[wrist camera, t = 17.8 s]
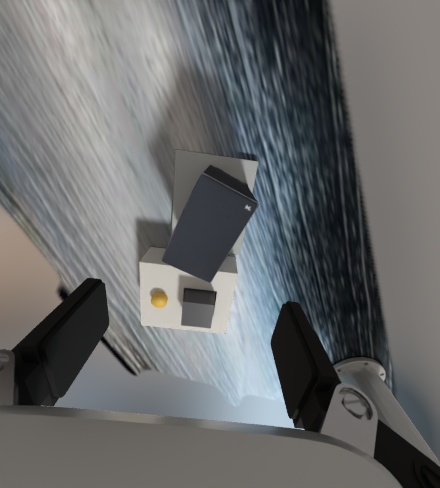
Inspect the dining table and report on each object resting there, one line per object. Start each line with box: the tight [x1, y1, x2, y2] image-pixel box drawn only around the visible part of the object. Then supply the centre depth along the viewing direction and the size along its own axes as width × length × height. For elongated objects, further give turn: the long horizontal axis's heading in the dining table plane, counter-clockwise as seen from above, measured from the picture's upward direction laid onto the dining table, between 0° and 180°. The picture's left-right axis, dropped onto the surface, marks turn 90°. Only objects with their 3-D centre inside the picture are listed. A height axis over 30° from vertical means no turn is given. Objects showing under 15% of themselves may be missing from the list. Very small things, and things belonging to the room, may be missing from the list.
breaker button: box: [181, 288, 215, 328], centre depth 32 cm, size 4×4×6 cm
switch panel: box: [139, 247, 238, 334], centre depth 34 cm, size 12×14×6 cm
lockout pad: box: [172, 149, 258, 255], centre depth 31 cm, size 14×11×1 cm
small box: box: [162, 165, 259, 283], centre depth 25 cm, size 11×6×10 cm, turn 152°
